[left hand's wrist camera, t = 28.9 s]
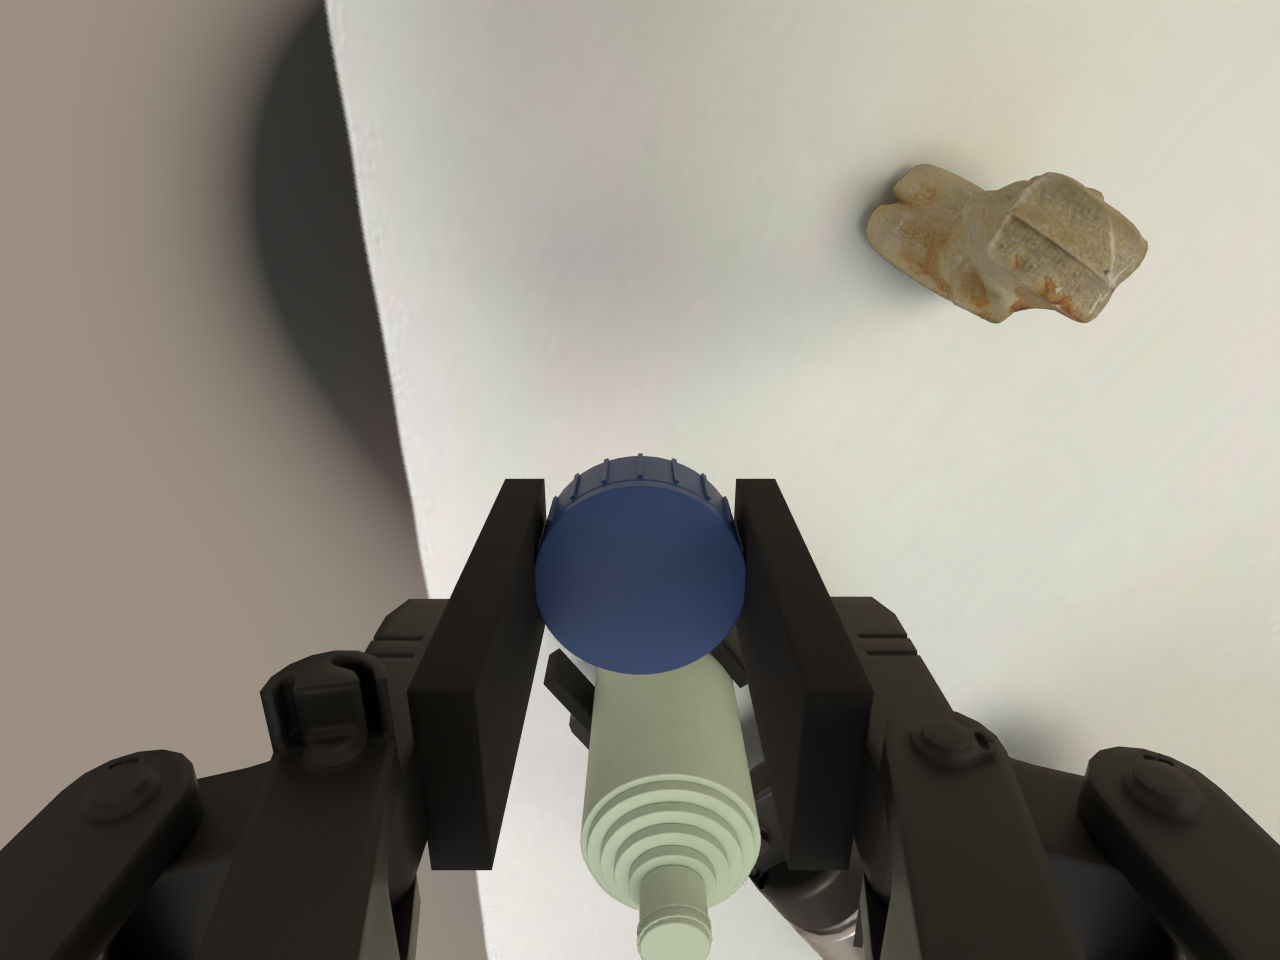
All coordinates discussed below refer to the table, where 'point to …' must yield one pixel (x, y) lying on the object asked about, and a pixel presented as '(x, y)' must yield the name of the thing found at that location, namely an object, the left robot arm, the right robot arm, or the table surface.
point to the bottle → (669, 802)
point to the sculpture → (1008, 243)
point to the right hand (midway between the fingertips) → (612, 627)
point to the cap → (640, 566)
